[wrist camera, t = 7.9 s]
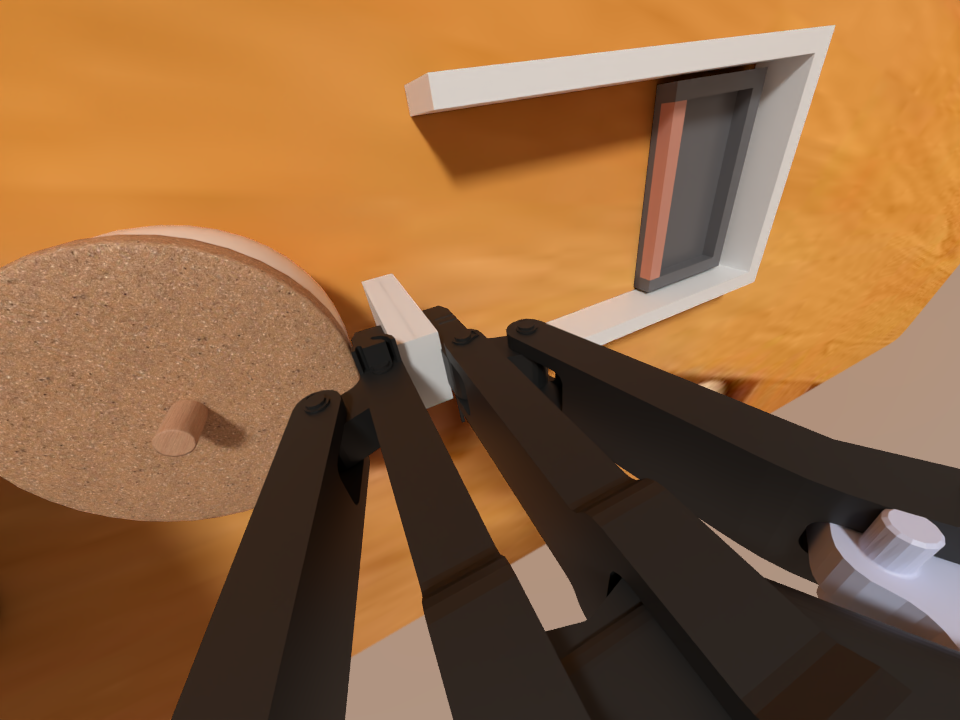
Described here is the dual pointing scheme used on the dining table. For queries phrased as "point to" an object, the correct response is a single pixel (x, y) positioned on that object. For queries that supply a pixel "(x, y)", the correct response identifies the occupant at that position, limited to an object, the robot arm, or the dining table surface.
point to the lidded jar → (159, 369)
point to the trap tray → (694, 173)
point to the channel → (779, 109)
